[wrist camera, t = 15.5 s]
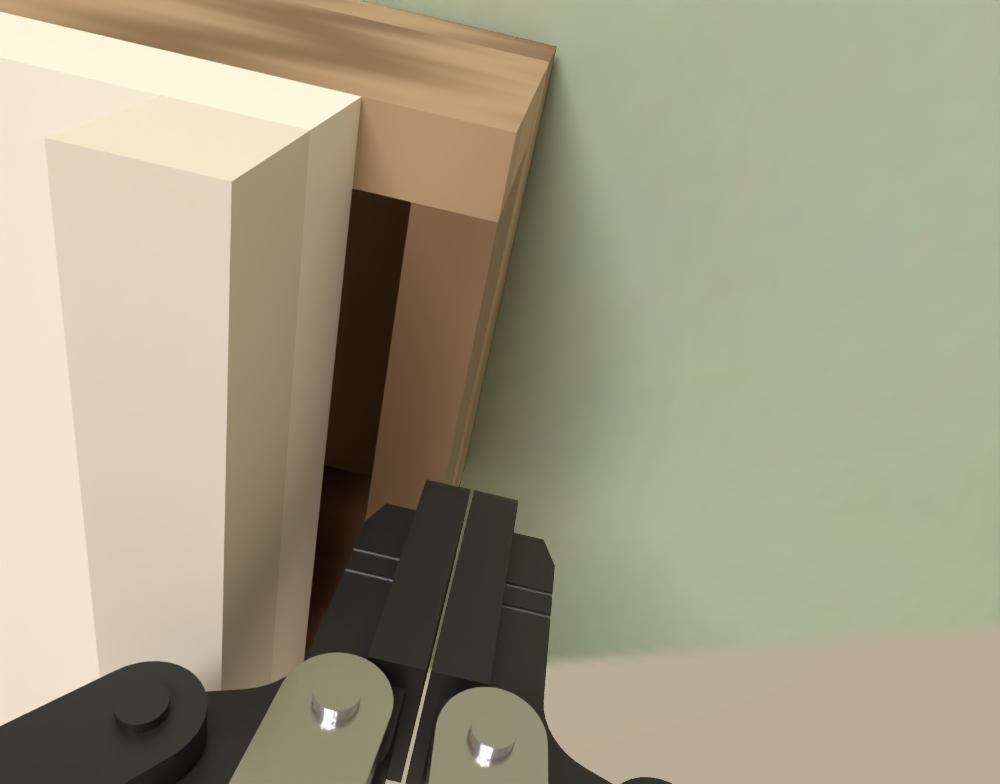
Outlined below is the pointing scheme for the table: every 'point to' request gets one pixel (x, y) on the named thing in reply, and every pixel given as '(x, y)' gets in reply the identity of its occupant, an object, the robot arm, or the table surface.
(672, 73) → the table surface
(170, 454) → the lid
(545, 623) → the robot arm
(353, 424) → the box
